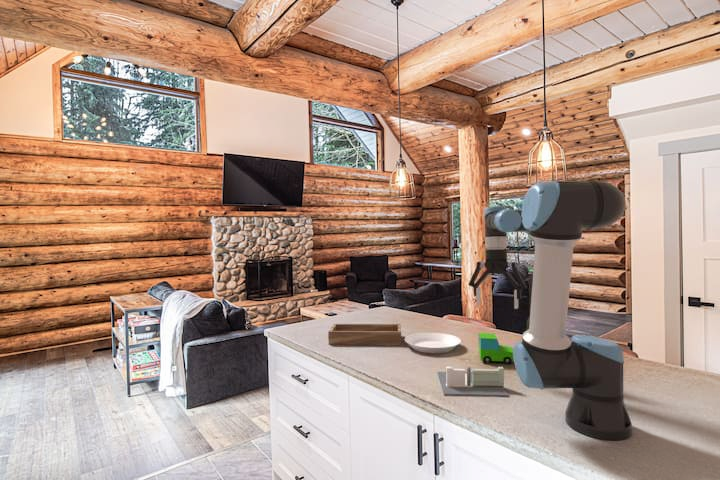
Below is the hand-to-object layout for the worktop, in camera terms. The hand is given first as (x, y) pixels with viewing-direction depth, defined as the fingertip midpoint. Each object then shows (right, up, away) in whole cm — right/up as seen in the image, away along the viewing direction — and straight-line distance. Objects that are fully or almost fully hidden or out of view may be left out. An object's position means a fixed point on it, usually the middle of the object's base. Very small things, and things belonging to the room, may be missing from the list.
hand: (497, 306), depth 146 cm
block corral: (-47, -24, +48) cm, 71 cm away
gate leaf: (-8, -24, -13) cm, 28 cm away
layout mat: (-12, -25, -10) cm, 29 cm away
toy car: (+5, -24, +14) cm, 28 cm away
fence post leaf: (-17, -25, -12) cm, 33 cm away
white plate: (-17, -24, +34) cm, 45 cm away
